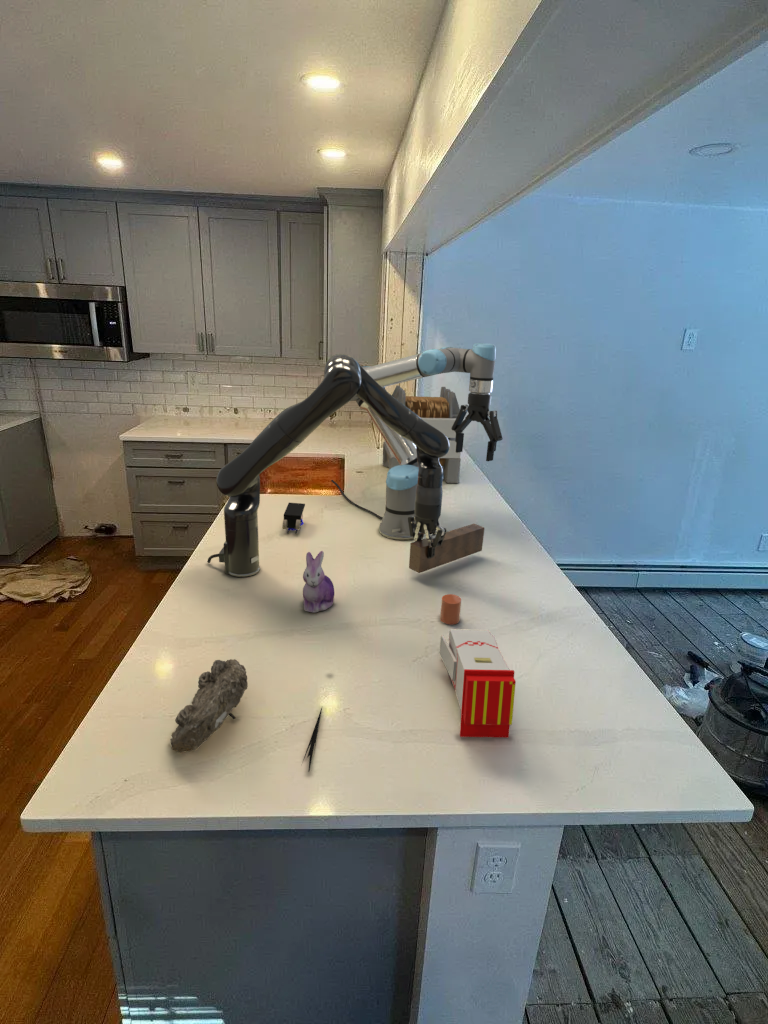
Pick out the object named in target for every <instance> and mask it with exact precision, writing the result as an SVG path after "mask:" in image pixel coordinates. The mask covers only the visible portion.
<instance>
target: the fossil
mask: <svg viewBox="0 0 768 1024" xmlns="http://www.w3.org/2000/svg"><path fill="white" fill-rule="evenodd" d="M197 683H198V684H197V687H198V690H197V691H196V693H195V694H194V697H193V698H192V701H191V704H187V705H185V706H184V707H183V708H182V709H181V710H179V712H178V713H177V715H176V717H175V719H174V721H175V723H176V725H177V726H176V728H175V730H174V731H173V732H172V733H171V735H170V736H171V738H170V747H171V750H172V751H176V752H178V753H186V752H190V751H193V752H195V751H197V750H198V749H199V748H200V747H201V746H202V745H203V744H204V743H205V742H207V741H208V740H209V739H210V737H211V736H212V735H213V734H215V733H216V731H218V730H219V729H220V728H221V726H222V725H223V723H224V721H225V720H226V719H227V718H228V717H230V718H232V720H235V719H236V716H235V715H234V714H233V713H232V710H233V709H235V708H237V706H238V705H239V704H240V702H241V700H242V698H243V696H244V693H245V691H246V690H247V689H248V686H249V685H248V675H247V669H246V668H245V666H244V665H243V664H241V663H240V661H238V660H237V659H236V658H234V659H232V658H230V659H226V660H221V659H216V660H214V661H213V662H212V665H211V667H210V671H208V670H207V671H205V672H201V674H200V675H199V676H198V681H197Z"/></svg>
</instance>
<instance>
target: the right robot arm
mask: <svg viewBox="0 0 768 1024" xmlns="http://www.w3.org/2000/svg"><path fill="white" fill-rule="evenodd" d="M496 358H497V347H496V345H495V344H493V343H481V342H479V343H477V342H476V343H473V345H472V348H461V347H452V346H446V347H445V346H443V347H440V348H431V349H427V350H425V351H423V352H421V353H417V354H412V355H409V356H405V357H401V358H398V359H397V358H396V359H394V360H390V361H386V362H383V363H379V364H375V365H371V366H369V365H361V367H362V368H363V369H364V370H365V371H366V372H367V373H368V374H369V375H370V376H371V377H372V378H373V379H374V380H375V381H376V382H377V383H378V384H379V385H380V386H381V387H383V388H384V389H385V390H386V391H387V389H386V387H390V386H394V385H399V384H403V383H406V382H410V381H414V380H415V381H416V380H419V379H422V378H423V379H424V378H428V377H432V376H437V375H441V374H448V373H464V374H465V373H466V374H469V384H468V391H469V393H468V394H467V404H461V405H460V406H459V408H460V412H459V414H458V416H457V418H456V420H455V422H454V424H453V426H452V428H451V429H452V430H454V431H455V433H456V438H455V442H456V453H458V452H461V453H462V452H463V448H464V437H465V433H464V431H465V429H467V427H468V426H469V425H470V424H471V423H472V422H477V423H480V424H481V425H482V427H483V429H484V431H485V433H486V435H487V437H488V439H489V440H488V442H487V448H486V455H485V456H486V457H485V461H486V462H491V461H494V456H495V452H496V451H497V444H498V442H500V441H503V435H502V430H501V427H500V423H499V419H498V410H495V409H494V410H490V406H491V404H492V394H491V393H493V387H494V386H493V385H494V373H495V366H496V362H497V361H496V360H497V359H496ZM350 402H356V404H357V405H358V407H359V409H360V410H364V411H366V412H367V414H368V416H369V417H370V419H371V421H372V422H373V424H374V425H375V427H376V428H377V431H379V433H380V435H381V436H382V438H383V441H384V440H385V441H386V443H387V445H388V446H389V448H390V449H391V451H392V453H393V454H394V456H395V458H396V459H397V461H398V462H399V464H400V465H398V466H394V467H392V468H391V469H390V470H389V469H388V471H387V473H386V479H385V504H384V505H385V507H384V508H385V509H384V513H383V515H382V516H381V515H379V514H378V513H376V512H373V511H372V510H370V509H367V508H365V507H363V506H361V505H359V504H357V503H355V502H354V501H352V500H351V499H350V498H348V496H347V495H346V494H345V493H344V491H343V489H341V487H340V485H339V484H338V483H337V482H336V481H335V480H333V479H331V480H330V482H331V483H332V484H334V485H335V486H336V487H337V489H338V491H339V492H340V493H341V495H342V497H343V498H344V499H345V500H346V501H348V503H350V504H351V505H353V506H354V507H357V508H358V509H360V510H361V511H362V510H363V511H364V512H367V513H369V514H371V515H373V516H375V517H376V518H378V519H379V520H381V522H379V526H378V533H379V534H380V535H381V536H382V537H385V538H387V539H389V540H395V541H410V540H414V537H411V536H410V531H409V523H408V517H411V516H416V515H415V499H416V489H417V482H418V471H419V467H418V461H417V452H416V445H415V444H414V443H413V442H411V441H409V440H407V439H405V438H404V437H402V436H401V435H399V434H398V433H396V432H395V431H394V430H392V429H391V428H389V427H388V426H387V425H386V424H385V423H384V422H383V421H382V420H381V419H380V418H379V417H378V416H377V415H376V414H375V412H374V411H373V410H372V409H371V408H370V407H369V406H368V405H367V404H366V403H365V402H364V401H363V400H361V399H360V398H359V397H357V396H355V397H354V398H353V399H352V400H351V401H350ZM463 420H464V421H463ZM462 421H463V422H462ZM461 432H462V433H461ZM385 441H384V442H385ZM413 532H415V531H414V528H413Z"/></svg>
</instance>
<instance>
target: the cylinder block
mask: <svg viewBox="0 0 768 1024" xmlns="http://www.w3.org/2000/svg"><path fill="white" fill-rule="evenodd" d="M440 603H441V604H440V612H439V613H440V614H439V620H440V622H441V623H443V624H446V625H451V626H452V625H457V624H459V622H460V620H461V619H460V618H461V610H462V609H461V608H462V598H461V596H459V595H457V594H453V593H450V594H449V593H448V594H444V595H442V597H441V602H440Z"/></svg>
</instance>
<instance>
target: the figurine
mask: <svg viewBox="0 0 768 1024" xmlns="http://www.w3.org/2000/svg"><path fill="white" fill-rule="evenodd" d="M324 556H325V552H324V551H323V550H320V551H319V552H318V553H317V555H316V557H315V558H314V556H313V555H312V552H311V551H308V552H306V556H305V563H306V567H305V568H304V571H303V574H302V579H303V581H304V583H305V584H304V585H303V588H302V596H303V602H302V604H303V609H304V612H308V613H309V612H310V613H318V612H321V611H322V612H323V611H326V610H327V609H329V608H330V607H332V606H333V604H334V600H335V587H334V582H333V581H332V580H331V578H330V577H329V576H327V575H326V574H325V571H324V569H323V567H322V564H323V560H324Z"/></svg>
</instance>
